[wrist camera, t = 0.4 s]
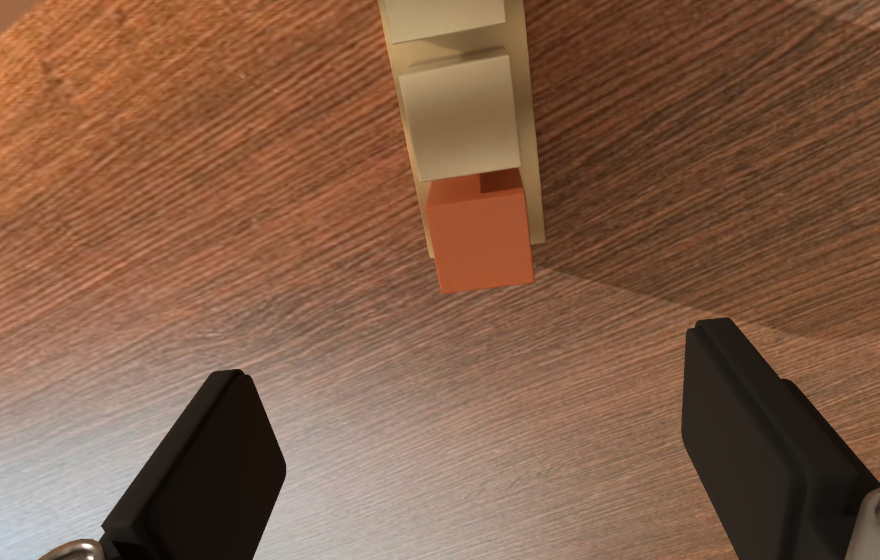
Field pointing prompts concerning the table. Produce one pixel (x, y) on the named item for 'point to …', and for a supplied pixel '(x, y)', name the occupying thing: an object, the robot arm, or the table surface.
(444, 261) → the terracotta cube
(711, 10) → the table surface
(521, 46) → the word board
